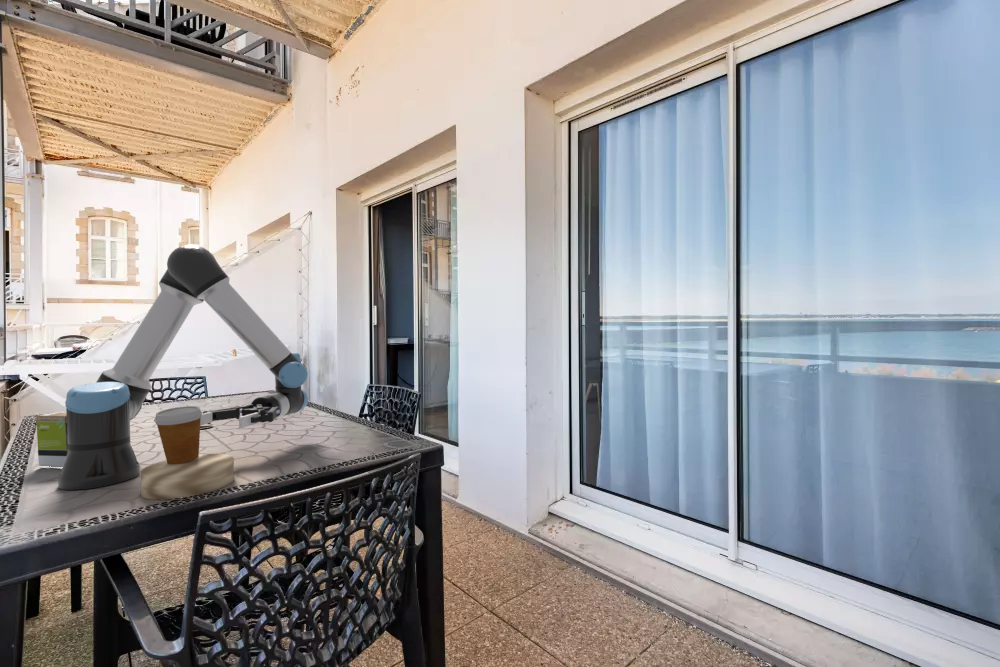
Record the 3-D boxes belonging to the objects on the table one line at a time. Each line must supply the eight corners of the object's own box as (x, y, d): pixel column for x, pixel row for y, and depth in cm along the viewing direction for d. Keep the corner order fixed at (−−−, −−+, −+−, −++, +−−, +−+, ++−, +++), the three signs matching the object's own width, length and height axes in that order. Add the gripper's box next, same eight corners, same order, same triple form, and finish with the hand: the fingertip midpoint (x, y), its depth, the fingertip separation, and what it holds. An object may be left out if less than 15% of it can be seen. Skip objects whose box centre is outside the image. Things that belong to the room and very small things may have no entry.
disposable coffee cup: (184, 468, 105) (179, 417, 104) (148, 466, 106) (142, 416, 105) (215, 452, 114) (211, 405, 113) (181, 451, 116) (177, 405, 115)
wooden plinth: (119, 498, 100) (118, 475, 100) (186, 472, 118) (185, 453, 118) (194, 501, 97) (193, 477, 97) (250, 474, 115) (250, 454, 115)
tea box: (94, 453, 138) (93, 404, 138) (123, 454, 136) (121, 405, 136) (36, 469, 123) (35, 414, 123) (67, 470, 121) (66, 414, 121)
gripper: (308, 420, 135) (261, 438, 114) (231, 419, 138) (172, 436, 117) (308, 395, 135) (260, 407, 114) (231, 394, 138) (171, 407, 117)
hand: (215, 422), depth 116 cm, fingers open, 13 cm apart
